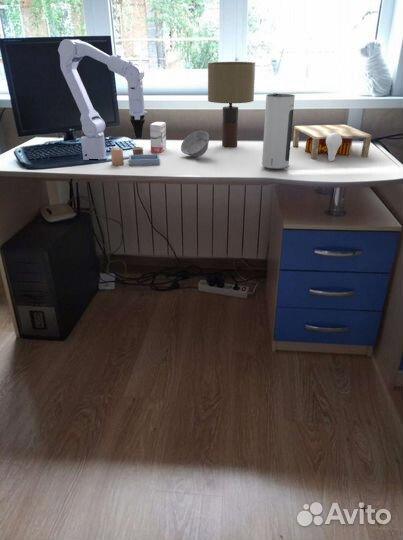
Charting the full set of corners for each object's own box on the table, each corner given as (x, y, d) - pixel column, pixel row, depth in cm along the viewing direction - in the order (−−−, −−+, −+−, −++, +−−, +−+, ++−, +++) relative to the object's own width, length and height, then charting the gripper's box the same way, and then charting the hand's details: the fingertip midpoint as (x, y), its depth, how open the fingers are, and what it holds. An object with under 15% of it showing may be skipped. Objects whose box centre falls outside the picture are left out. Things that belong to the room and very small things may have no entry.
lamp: (258, 144, 200) (263, 62, 183) (238, 152, 185) (241, 63, 168) (221, 140, 209) (222, 61, 193) (199, 147, 194) (198, 63, 178)
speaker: (282, 170, 158) (288, 95, 146) (257, 166, 163) (261, 94, 151) (292, 164, 166) (299, 92, 154) (268, 161, 171) (272, 91, 159)
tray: (129, 165, 166) (128, 160, 165) (129, 160, 174) (129, 155, 173) (159, 164, 167) (159, 159, 166) (159, 159, 175) (158, 154, 174)
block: (133, 159, 176) (132, 149, 174) (133, 157, 179) (133, 147, 177) (143, 159, 176) (142, 149, 174) (143, 156, 180) (142, 147, 178)
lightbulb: (339, 160, 172) (343, 132, 166) (338, 163, 167) (342, 134, 161) (323, 159, 173) (327, 131, 168) (322, 162, 168) (326, 134, 163)
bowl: (181, 161, 181) (176, 154, 177) (192, 138, 185) (187, 130, 182) (207, 161, 174) (202, 153, 170) (217, 137, 178) (212, 129, 175)
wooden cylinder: (111, 166, 166) (110, 150, 163) (112, 163, 170) (110, 148, 167) (123, 165, 166) (122, 150, 163) (124, 162, 170) (122, 147, 168)
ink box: (161, 153, 185) (160, 124, 179) (150, 152, 186) (148, 124, 180) (167, 149, 192) (165, 121, 187) (156, 148, 193) (154, 121, 188)
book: (304, 153, 185) (306, 141, 183) (309, 147, 195) (311, 136, 193) (348, 156, 179) (350, 144, 176) (351, 150, 189) (352, 138, 187)
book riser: (312, 158, 174) (314, 136, 170) (292, 145, 196) (294, 126, 192) (367, 156, 176) (371, 135, 172) (342, 144, 199) (344, 124, 195)
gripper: (147, 101, 157) (149, 139, 164) (146, 97, 170) (148, 132, 176) (127, 102, 156) (130, 139, 163) (128, 97, 169) (131, 132, 175)
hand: (138, 135), depth 169 cm, fingers open, 7 cm apart
